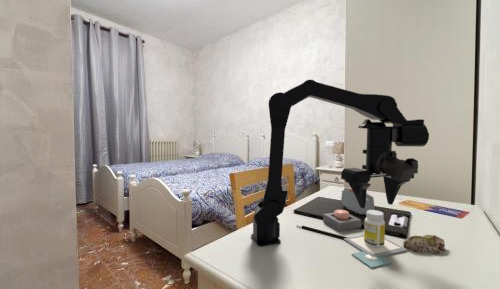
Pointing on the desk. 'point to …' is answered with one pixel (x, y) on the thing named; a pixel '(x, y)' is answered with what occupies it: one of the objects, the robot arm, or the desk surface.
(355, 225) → the button housing
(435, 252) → the mineral rock
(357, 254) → the card
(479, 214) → the desk surface
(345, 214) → the button
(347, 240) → the sketch pad
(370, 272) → the desk surface
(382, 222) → the supplement bottle
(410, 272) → the desk surface
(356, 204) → the grey rounded slab
